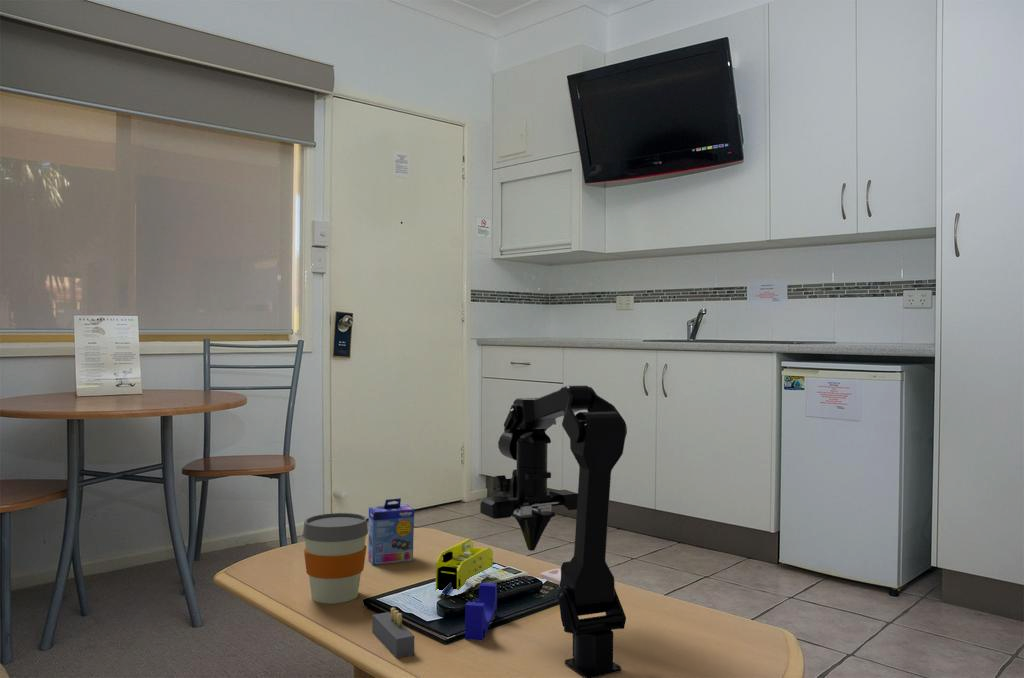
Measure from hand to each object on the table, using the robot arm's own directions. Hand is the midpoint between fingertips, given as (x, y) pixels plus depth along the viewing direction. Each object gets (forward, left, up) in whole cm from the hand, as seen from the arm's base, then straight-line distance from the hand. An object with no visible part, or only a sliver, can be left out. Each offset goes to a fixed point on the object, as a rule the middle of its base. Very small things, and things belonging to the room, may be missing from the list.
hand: (531, 550), depth 137 cm
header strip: (0, +27, -12) cm, 30 cm away
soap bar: (+12, -15, -12) cm, 23 cm away
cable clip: (0, +11, -12) cm, 17 cm away
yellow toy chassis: (+20, +4, -12) cm, 24 cm away
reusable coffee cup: (+27, +29, -12) cm, 41 cm away
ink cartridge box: (+45, +11, -12) cm, 48 cm away
